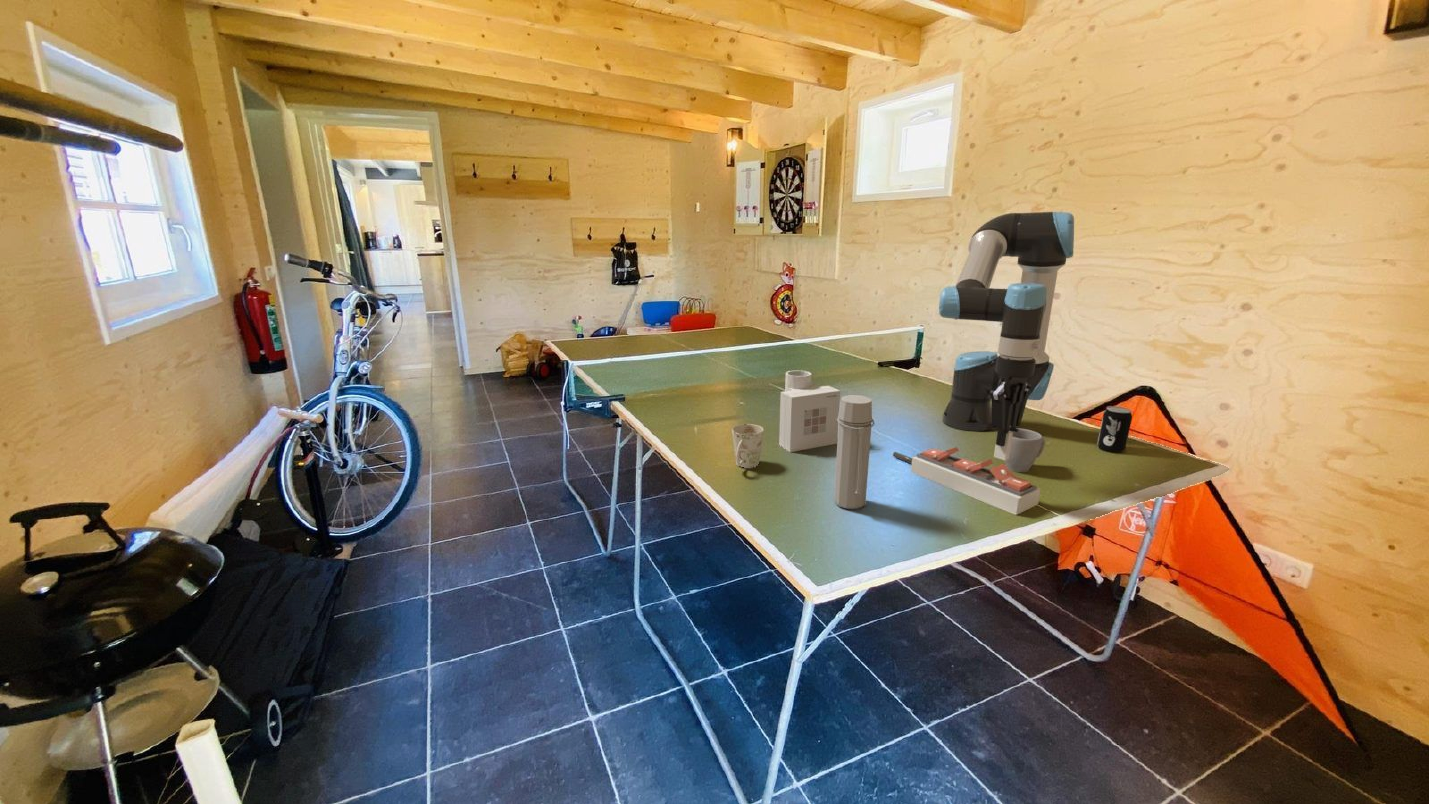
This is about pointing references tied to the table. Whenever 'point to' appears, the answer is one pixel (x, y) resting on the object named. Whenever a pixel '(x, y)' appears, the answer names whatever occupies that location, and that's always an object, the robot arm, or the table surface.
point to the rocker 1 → (939, 453)
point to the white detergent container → (807, 413)
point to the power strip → (973, 483)
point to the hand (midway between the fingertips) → (1001, 457)
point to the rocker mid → (971, 465)
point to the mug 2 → (1024, 450)
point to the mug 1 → (747, 444)
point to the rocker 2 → (1009, 478)
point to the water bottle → (853, 451)
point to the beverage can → (1114, 429)
